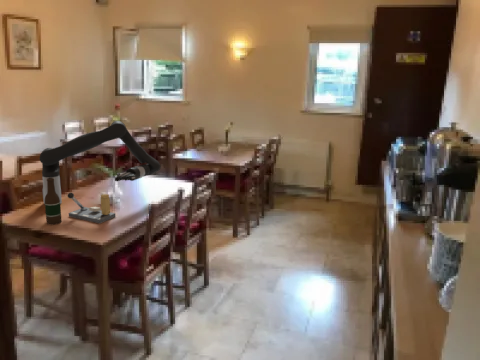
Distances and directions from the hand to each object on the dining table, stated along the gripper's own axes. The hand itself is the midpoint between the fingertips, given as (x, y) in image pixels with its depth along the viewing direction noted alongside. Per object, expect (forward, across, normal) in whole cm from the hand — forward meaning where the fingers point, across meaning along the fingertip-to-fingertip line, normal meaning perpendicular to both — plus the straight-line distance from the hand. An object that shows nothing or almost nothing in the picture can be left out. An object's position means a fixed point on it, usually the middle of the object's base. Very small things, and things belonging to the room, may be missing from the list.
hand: (115, 179), depth 226 cm
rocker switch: (+9, -8, +18) cm, 21 cm away
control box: (+11, -8, +20) cm, 24 cm away
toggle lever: (+10, -16, +16) cm, 25 cm away
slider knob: (+9, 0, +18) cm, 20 cm away
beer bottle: (+27, -19, +20) cm, 39 cm away
